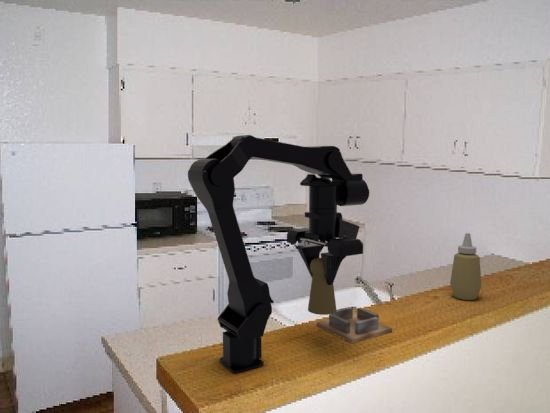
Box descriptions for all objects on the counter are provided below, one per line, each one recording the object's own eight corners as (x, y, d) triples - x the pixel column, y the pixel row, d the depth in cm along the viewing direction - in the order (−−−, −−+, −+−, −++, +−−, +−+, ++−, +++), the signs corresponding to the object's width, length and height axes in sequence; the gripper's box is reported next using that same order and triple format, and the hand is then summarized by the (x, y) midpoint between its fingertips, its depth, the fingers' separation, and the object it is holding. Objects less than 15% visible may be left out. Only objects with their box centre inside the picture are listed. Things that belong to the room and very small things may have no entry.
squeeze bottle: (471, 304, 122) (474, 237, 120) (443, 297, 129) (446, 233, 127) (486, 298, 127) (489, 233, 126) (459, 291, 134) (461, 230, 132)
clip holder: (351, 343, 97) (351, 328, 96) (316, 325, 107) (316, 312, 106) (392, 331, 103) (392, 317, 103) (355, 316, 113) (355, 303, 113)
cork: (301, 309, 97) (302, 258, 96) (321, 303, 101) (322, 254, 100) (322, 316, 93) (322, 263, 91) (342, 310, 96) (343, 258, 95)
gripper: (384, 209, 91) (382, 286, 93) (325, 202, 107) (324, 268, 108) (341, 213, 85) (340, 295, 87) (285, 204, 101) (285, 274, 102)
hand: (322, 281), depth 96 cm, fingers closed on cork, 5 cm apart
